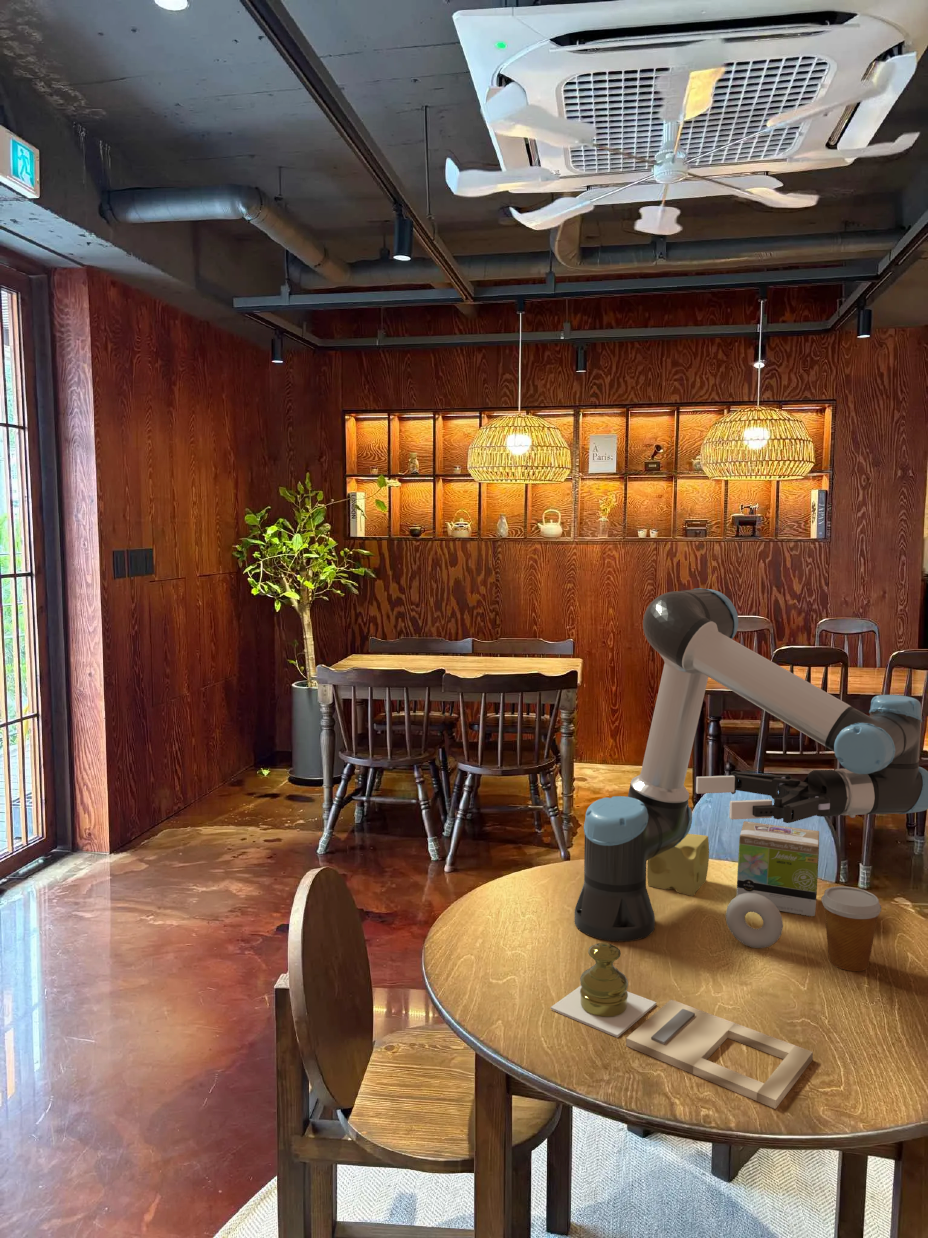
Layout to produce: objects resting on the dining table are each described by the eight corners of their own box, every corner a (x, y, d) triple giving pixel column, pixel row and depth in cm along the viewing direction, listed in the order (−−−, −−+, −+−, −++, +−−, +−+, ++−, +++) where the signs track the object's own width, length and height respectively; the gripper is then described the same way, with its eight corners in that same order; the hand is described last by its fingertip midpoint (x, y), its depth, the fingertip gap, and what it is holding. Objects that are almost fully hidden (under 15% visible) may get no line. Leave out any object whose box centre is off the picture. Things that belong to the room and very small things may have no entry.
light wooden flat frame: (625, 1046, 128) (626, 1035, 128) (670, 1006, 139) (670, 997, 139) (775, 1109, 114) (775, 1097, 114) (812, 1060, 125) (812, 1049, 125)
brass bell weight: (572, 996, 141) (573, 936, 140) (615, 990, 143) (616, 931, 142) (590, 1021, 134) (591, 958, 133) (635, 1014, 136) (636, 952, 135)
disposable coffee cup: (885, 979, 148) (888, 910, 146) (824, 973, 150) (827, 905, 148) (870, 952, 157) (873, 887, 156) (814, 947, 159) (816, 883, 158)
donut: (722, 944, 160) (724, 891, 159) (727, 937, 163) (729, 884, 162) (779, 957, 155) (781, 903, 154) (783, 950, 158) (785, 896, 157)
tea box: (735, 906, 177) (737, 834, 175) (740, 887, 186) (742, 819, 184) (816, 918, 171) (819, 844, 169) (816, 898, 180) (819, 828, 179)
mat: (550, 1009, 138) (550, 1007, 138) (591, 980, 147) (591, 978, 147) (617, 1038, 130) (617, 1035, 130) (656, 1004, 140) (656, 1002, 140)
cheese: (694, 897, 181) (695, 850, 180) (644, 886, 187) (644, 840, 186) (709, 880, 190) (710, 835, 189) (660, 870, 195) (661, 826, 194)
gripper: (880, 840, 133) (745, 847, 130) (798, 792, 157) (684, 797, 155) (882, 792, 132) (747, 797, 129) (799, 751, 157) (685, 755, 154)
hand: (712, 797), depth 142 cm, fingers open, 13 cm apart
